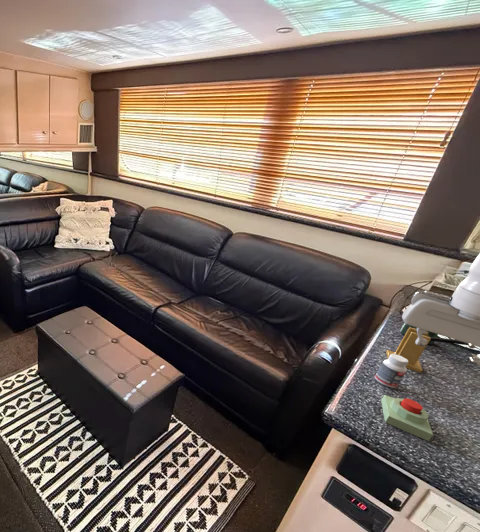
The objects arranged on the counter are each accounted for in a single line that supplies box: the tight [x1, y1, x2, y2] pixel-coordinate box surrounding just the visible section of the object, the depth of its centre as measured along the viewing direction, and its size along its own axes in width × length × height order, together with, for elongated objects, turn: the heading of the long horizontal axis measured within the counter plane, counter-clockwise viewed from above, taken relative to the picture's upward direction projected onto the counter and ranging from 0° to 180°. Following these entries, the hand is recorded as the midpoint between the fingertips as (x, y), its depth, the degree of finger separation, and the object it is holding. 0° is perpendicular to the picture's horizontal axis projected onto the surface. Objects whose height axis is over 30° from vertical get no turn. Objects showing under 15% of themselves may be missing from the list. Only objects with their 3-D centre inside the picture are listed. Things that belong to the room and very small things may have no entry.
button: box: [400, 397, 424, 414], centre depth 80 cm, size 4×4×2 cm
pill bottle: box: [374, 354, 408, 389], centre depth 94 cm, size 5×5×9 cm
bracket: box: [385, 327, 431, 374], centre depth 104 cm, size 8×7×12 cm
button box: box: [380, 394, 434, 442], centre depth 81 cm, size 10×8×4 cm
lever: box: [414, 332, 476, 350], centre depth 100 cm, size 13×5×2 cm, turn 52°
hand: (445, 353), depth 77 cm, fingers open, 8 cm apart
